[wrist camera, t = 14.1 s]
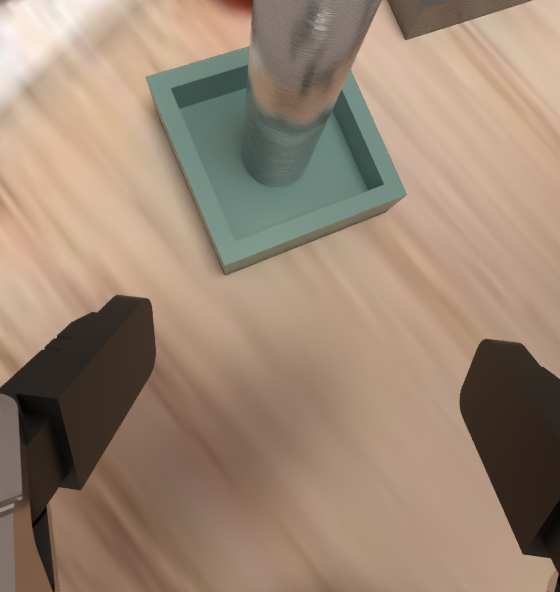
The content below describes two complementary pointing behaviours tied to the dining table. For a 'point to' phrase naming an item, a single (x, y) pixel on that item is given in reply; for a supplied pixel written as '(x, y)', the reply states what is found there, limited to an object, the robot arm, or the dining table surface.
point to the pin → (296, 79)
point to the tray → (249, 192)
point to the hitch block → (442, 13)
